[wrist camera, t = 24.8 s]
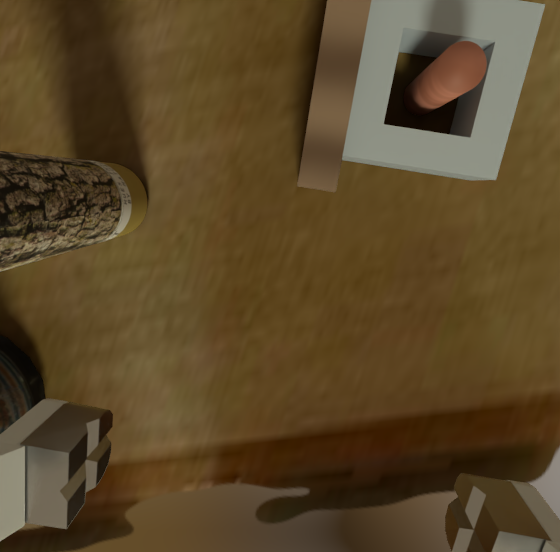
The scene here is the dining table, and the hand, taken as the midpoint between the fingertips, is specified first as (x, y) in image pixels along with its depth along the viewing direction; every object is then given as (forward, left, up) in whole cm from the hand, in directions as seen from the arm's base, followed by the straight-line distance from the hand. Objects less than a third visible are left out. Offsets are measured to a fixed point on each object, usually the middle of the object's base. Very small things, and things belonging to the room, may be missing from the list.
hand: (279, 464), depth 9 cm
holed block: (-15, +8, -29) cm, 34 cm away
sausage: (-15, +8, -29) cm, 34 cm away
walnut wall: (-15, 0, -29) cm, 33 cm away
